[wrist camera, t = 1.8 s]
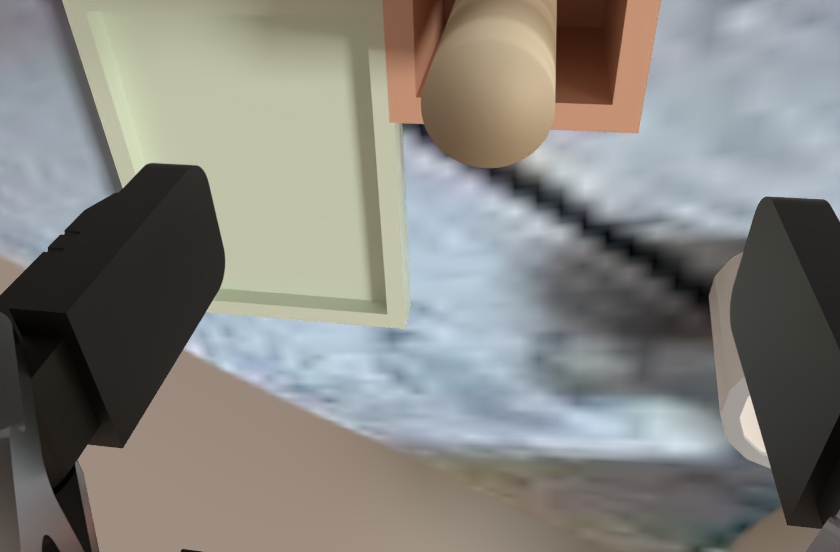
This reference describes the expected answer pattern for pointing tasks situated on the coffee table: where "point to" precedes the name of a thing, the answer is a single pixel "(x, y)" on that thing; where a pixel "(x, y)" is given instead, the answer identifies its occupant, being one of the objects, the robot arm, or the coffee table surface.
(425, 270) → the coffee table surface
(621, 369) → the coffee table surface
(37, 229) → the coffee table surface
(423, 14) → the square clay pot
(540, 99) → the birch pin
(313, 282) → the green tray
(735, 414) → the beige cylinder
